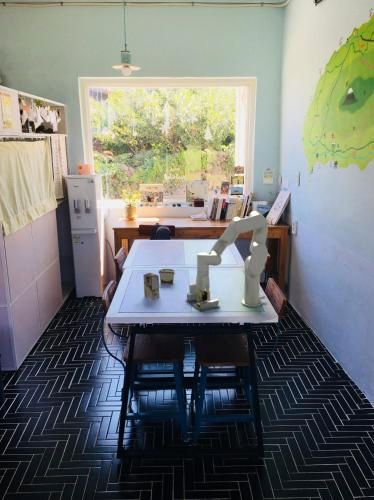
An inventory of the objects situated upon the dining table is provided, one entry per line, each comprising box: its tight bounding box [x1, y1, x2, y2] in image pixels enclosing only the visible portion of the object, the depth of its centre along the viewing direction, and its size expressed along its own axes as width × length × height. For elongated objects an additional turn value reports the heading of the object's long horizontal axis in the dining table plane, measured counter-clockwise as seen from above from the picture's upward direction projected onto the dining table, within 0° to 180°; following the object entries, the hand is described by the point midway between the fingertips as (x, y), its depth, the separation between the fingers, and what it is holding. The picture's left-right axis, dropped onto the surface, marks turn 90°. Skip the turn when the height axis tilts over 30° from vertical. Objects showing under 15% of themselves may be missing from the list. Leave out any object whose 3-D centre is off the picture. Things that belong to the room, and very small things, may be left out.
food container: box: [158, 268, 176, 285], centre depth 306 cm, size 12×6×10 cm, turn 74°
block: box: [196, 289, 211, 303], centre depth 265 cm, size 8×4×7 cm, turn 118°
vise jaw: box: [186, 282, 199, 301], centre depth 274 cm, size 12×6×9 cm, turn 118°
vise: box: [185, 298, 221, 313], centre depth 267 cm, size 14×20×5 cm
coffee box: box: [142, 272, 160, 301], centre depth 278 cm, size 9×6×16 cm
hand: (203, 298), depth 266 cm, fingers closed on block, 4 cm apart
